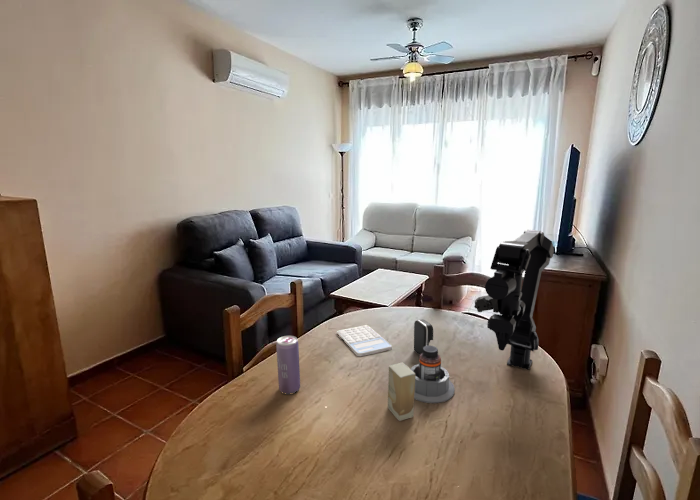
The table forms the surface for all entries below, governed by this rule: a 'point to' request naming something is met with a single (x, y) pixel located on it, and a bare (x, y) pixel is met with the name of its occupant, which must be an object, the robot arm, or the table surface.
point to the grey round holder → (433, 387)
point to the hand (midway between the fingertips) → (505, 343)
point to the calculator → (364, 340)
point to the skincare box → (401, 391)
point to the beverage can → (288, 364)
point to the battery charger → (422, 335)
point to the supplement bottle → (430, 364)
